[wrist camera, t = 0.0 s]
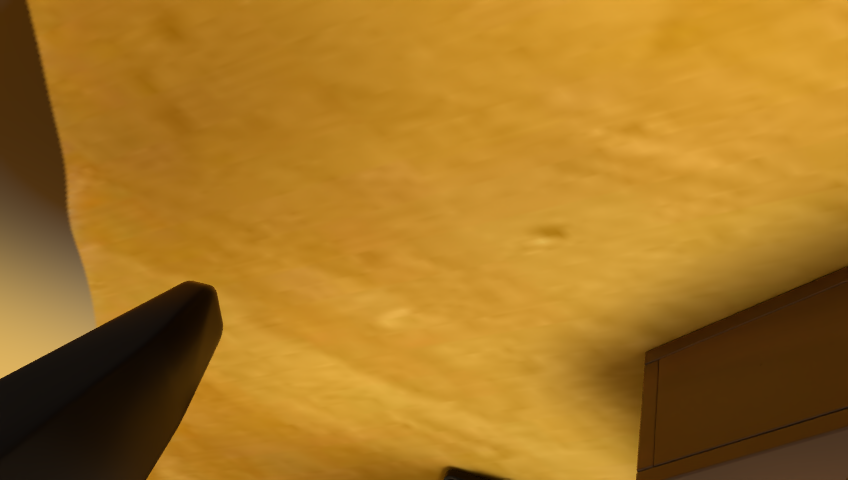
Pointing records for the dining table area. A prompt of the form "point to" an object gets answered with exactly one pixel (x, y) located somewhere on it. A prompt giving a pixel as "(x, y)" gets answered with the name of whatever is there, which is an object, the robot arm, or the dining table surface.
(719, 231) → the dining table surface
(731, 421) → the cabinet
